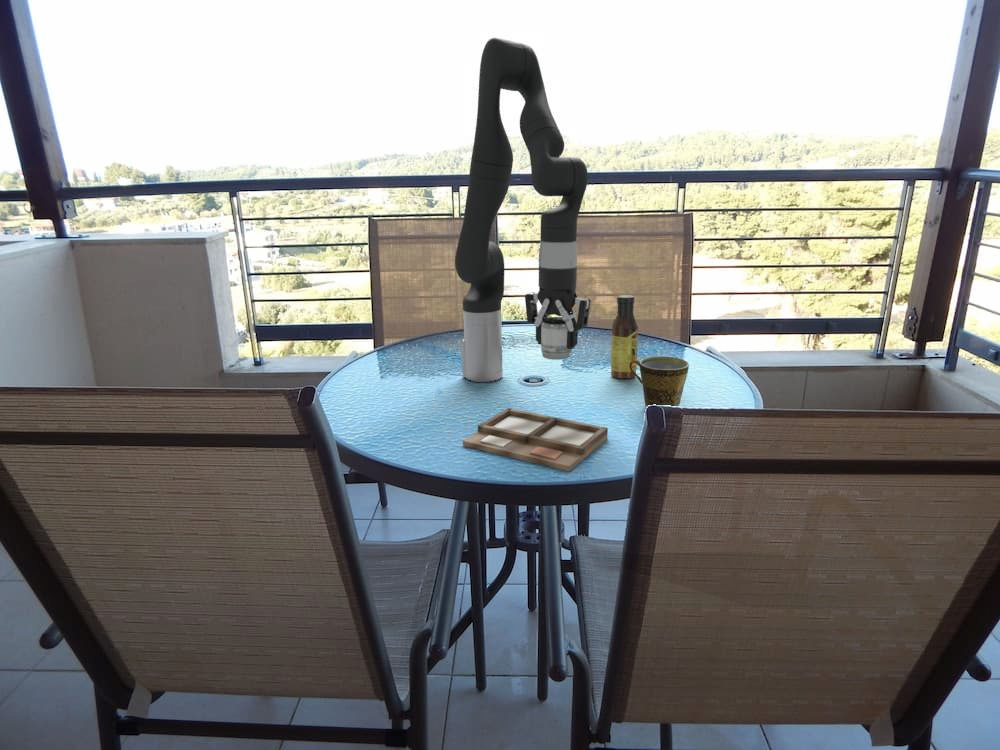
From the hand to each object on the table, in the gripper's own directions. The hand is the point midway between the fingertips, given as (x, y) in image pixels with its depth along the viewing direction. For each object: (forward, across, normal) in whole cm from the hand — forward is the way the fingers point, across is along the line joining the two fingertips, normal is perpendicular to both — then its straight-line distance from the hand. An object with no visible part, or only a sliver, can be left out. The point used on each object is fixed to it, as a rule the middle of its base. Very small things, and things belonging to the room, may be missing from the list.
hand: (556, 345), depth 128 cm
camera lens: (+2, 0, 0) cm, 2 cm away
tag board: (+14, -5, +17) cm, 22 cm away
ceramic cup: (+14, -18, -13) cm, 26 cm away
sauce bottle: (+14, -3, -29) cm, 33 cm away
